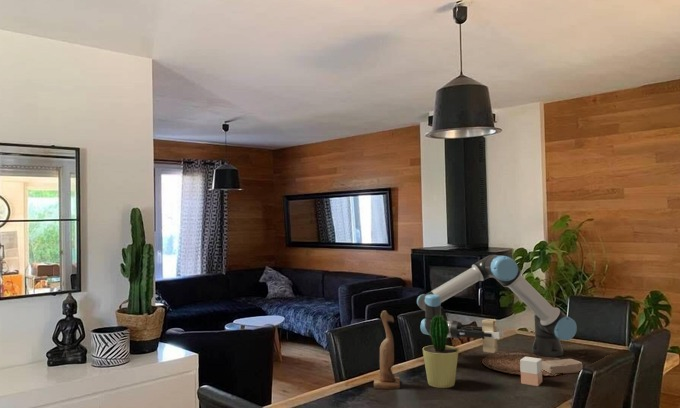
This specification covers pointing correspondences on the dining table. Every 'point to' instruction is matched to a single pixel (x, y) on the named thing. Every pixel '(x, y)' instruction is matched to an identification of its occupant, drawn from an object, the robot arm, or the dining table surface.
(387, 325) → the bird sculpture
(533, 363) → the tower top
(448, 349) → the potted cactus
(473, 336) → the robot arm
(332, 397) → the dining table surface
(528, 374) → the tower base
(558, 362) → the brick
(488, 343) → the oak pillar
